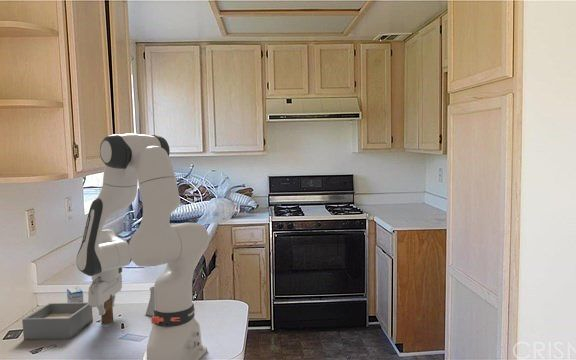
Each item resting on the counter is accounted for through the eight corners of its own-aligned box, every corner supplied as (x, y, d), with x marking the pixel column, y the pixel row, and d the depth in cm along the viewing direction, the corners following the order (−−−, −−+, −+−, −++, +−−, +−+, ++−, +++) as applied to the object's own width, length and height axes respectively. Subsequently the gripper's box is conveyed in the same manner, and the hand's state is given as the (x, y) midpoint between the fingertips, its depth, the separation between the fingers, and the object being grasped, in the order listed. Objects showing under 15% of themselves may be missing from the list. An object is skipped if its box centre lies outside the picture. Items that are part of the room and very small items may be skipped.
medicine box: (67, 309, 181) (66, 288, 181) (79, 307, 184) (78, 286, 183) (72, 315, 175) (70, 293, 174) (84, 312, 178) (83, 290, 177)
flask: (167, 309, 177) (166, 284, 177) (160, 316, 170) (159, 290, 169) (149, 309, 178) (148, 284, 177) (142, 316, 171) (140, 290, 170)
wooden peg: (110, 323, 165) (108, 296, 164) (99, 323, 165) (98, 296, 164) (115, 319, 169) (113, 293, 168) (104, 319, 169) (102, 293, 168)
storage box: (70, 339, 152) (69, 318, 152) (23, 339, 153) (22, 319, 152) (92, 320, 168) (91, 302, 168) (50, 321, 169) (49, 303, 168)
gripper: (100, 281, 155) (102, 321, 156) (124, 266, 175) (126, 301, 176) (82, 282, 155) (84, 321, 156) (108, 266, 176) (110, 301, 177)
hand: (107, 310), depth 166 cm, fingers open, 6 cm apart
